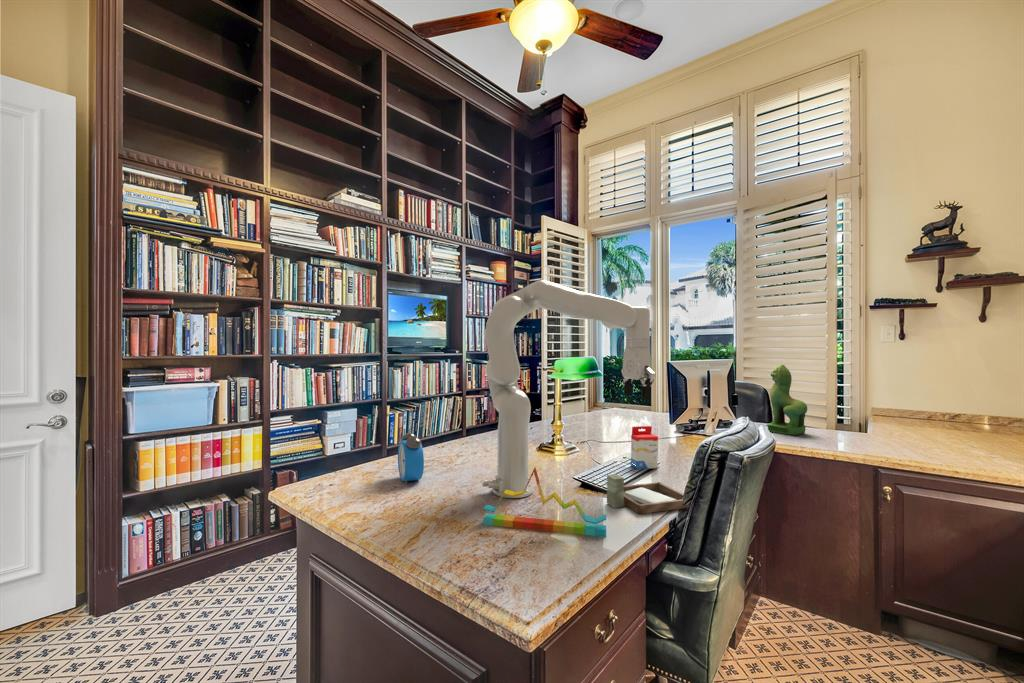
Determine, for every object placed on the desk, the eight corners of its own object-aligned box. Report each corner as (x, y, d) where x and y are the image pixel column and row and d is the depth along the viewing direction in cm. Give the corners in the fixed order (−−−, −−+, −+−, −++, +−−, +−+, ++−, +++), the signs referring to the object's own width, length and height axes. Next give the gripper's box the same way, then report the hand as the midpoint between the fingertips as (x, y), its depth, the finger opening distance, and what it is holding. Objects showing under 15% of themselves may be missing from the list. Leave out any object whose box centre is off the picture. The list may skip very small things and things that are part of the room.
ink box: (636, 469, 163) (637, 429, 163) (630, 465, 168) (630, 426, 168) (658, 468, 165) (658, 428, 165) (651, 464, 170) (651, 425, 170)
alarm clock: (397, 475, 153) (397, 431, 153) (415, 473, 156) (415, 430, 156) (405, 487, 141) (405, 439, 141) (424, 484, 144) (425, 438, 144)
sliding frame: (625, 515, 120) (625, 485, 120) (597, 495, 135) (597, 469, 134) (693, 507, 126) (693, 478, 126) (659, 489, 141) (659, 463, 141)
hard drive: (623, 491, 134) (658, 504, 124) (642, 486, 138) (677, 498, 128) (623, 497, 134) (658, 510, 124) (642, 492, 138) (677, 504, 128)
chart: (606, 532, 110) (606, 471, 110) (605, 538, 107) (606, 475, 107) (487, 520, 117) (487, 463, 117) (483, 525, 114) (484, 466, 114)
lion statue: (775, 428, 241) (776, 363, 241) (810, 434, 228) (811, 365, 227) (763, 431, 233) (764, 364, 233) (798, 437, 220) (799, 365, 219)
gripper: (613, 344, 154) (612, 393, 154) (643, 344, 138) (643, 400, 138) (632, 344, 156) (631, 393, 157) (664, 345, 140) (663, 399, 140)
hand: (636, 396), depth 147 cm, fingers open, 9 cm apart
